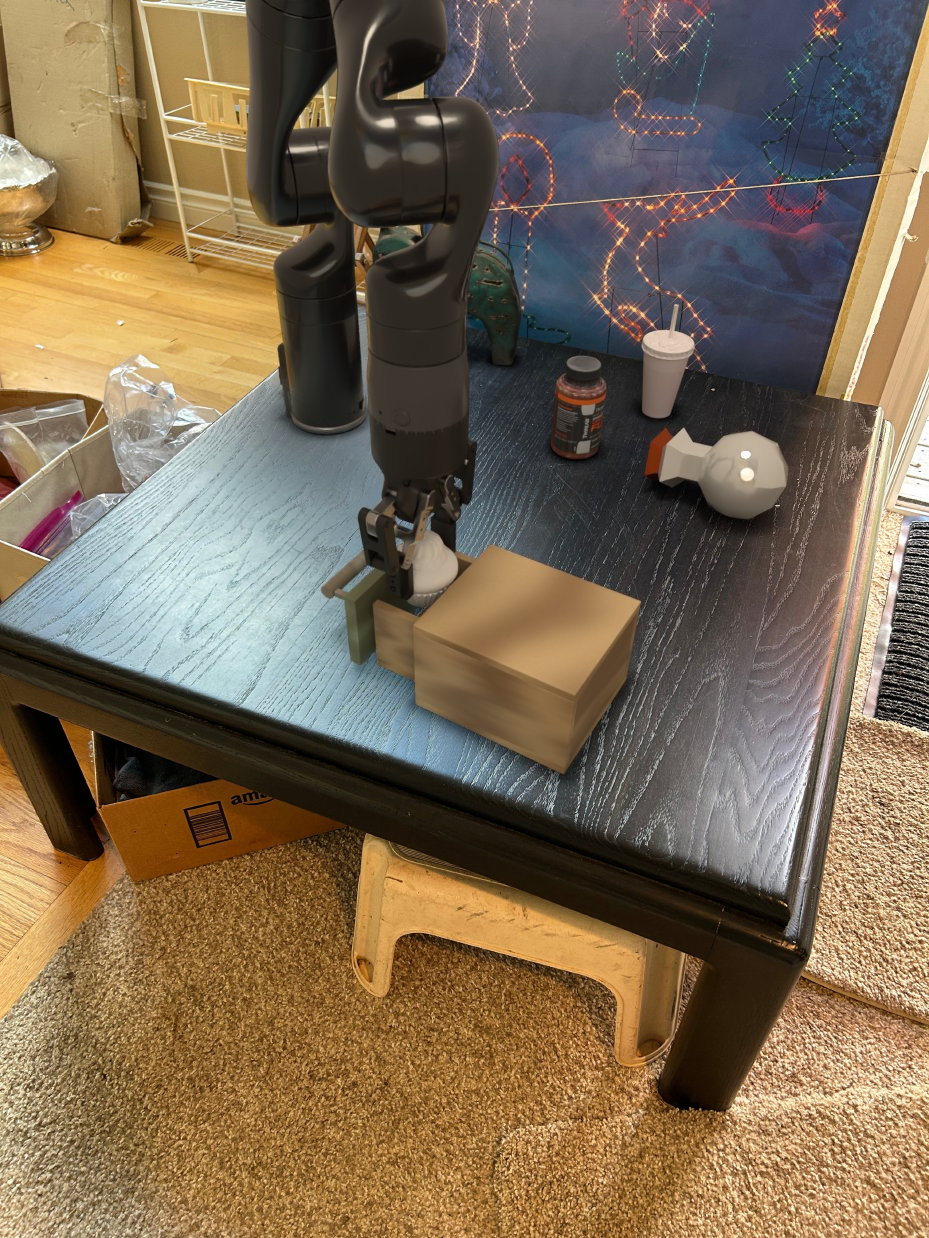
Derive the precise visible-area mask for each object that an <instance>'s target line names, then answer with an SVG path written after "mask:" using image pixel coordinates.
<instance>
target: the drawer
mask: <svg viewBox="0 0 929 1238" xmlns="http://www.w3.org/2000/svg"><path fill="white" fill-rule="evenodd" d="M401 544H403V543H402V542H401V543H400V544H399V545H398V546H400V545H401ZM454 554H455V556H456V558H457V561H458V573H457V575H456V577H455V579H454V580H453V581H454V582H455V581H456V580H457V579H458V578H459V577H460V575H461V574H462V573H463V572H464V571H465V570H466V569H467V568H468V567H469V566H470V565H471V564H472V563H473V562H474V561H475V560H476V559H477V558H476V557H473V556H470V555H468V554H465V553H463V552H460V551H458V550H456V552H455V553H454ZM367 567H369V566H368V565H366V560H365V555H364V550H363V549H362V550H361V551H360V552H359V553H358V554H357V555H356V556H355V557H353V558H352V559H351V560H350V561H348V563H347V564H346V565H344V566H343V567H342V568H341V569H340V570H339V571H338V572H336V573H335V574H334V575H333V576H332V577H331V578H330V579H328V580H327V581H326V582H325V583H324V584H323V585H322V586H320V592H321V594H322V596H324V597H325V598H326V599H329V600H332V599H333V598H334V597H335V598H337V599H339V600H342V601H343V602H344V603H343V604H344V614H345V622H346V632H347V641H348V653H349V661H350V662H352V663H354V664H356V665H358V666H362V665H363V664H364V663H365V662H366V661H367V660H368V659H369V658H370V657H371V656H372V655H373V654H374V653H376V664H377V665H378V666H380V667H382V668H385V669H386V670H388V671H391V672H393V673H395V674H397V675H399V676H401V677H404V678H406V679H408V680H410V681H412V682H414V683H415V670H414V642H413V624H414V623H415V622H416V621H417V620H418V619H419V618H420V617H421V616H422V615H423V614H424V613H425V612H426V611H427V610H428V609H429V608H430V607H431V606H429V607H425V608H424V609H422V611H421V612H420V613H419V614H418V615H415V614H413V613H414V612H415V611H416V610H417V608H418V607H415V606H414V605H411V604H409V603H408V602H407V601H406V600H403V599H401V598H399V597H396V596H394V595H392V594H390V593H388V591H387V589H386V572H383V571H381V570H378V569H376V568H374V567H373V568H372V570H371V571H370V572H369V573H367V575H365V576H364V577H363V578H362V579H361V580H360V581H359V582H358V583H357V584H355V586H354V587H352V588H351V589H349V591H345V590H343V589H344V588H345V587H347V586H348V585H349V584H350V583H351V582H352V581H353V580H354V579H355V578H356V577H357V576H358V575H360V574H361V573H362V572H363V571H364V570H365V569H366V568H367ZM454 582H453V583H454ZM453 583H452V584H453Z"/></svg>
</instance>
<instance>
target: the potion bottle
mask: <svg viewBox="0 0 929 1238" xmlns="http://www.w3.org/2000/svg"><path fill="white" fill-rule="evenodd" d="M789 469H790V467H789V465H788V463H787V461H786V459H785V456H784V454H783V452H782V450H781V447H780V445H779V443H778V442H777V441H774V440H772V439H769V438H768V437H765V436H764V435H762V434H759V433H758V432H755V431H753V430H750V431H748V430H747V431H736V432H732V433H729V434H726V435H723V436H722V437H721V438H720V439H719V440H718V441H717V442H716V443H715V444H714V445H713V446H711V445H707V444H703V443H699V442H693V440H692V439H691V437H690V435H689V433H688V432H687V430H686V428H685V427H683V428H681V429H680V431H678V432H677V433H676V434H675V435H674V436H673V435H671V433H670V432H669V430H668V428H667V427H665V428H664V429H663V430H662V431H660V433H658V434H657V436H655V437H654V438H653V439H652V440H651V441H650V444H649V449H648V454H647V460H646V466H645V471H644V477H646V478H648V479H650V480H653V481H655V482H657V481H659V483H661V484H663V485H665V486H667V487H670V488H674V487H676V486H678V485H679V484H681V483H683V482H685V481H688V482H691V483H695V484H698V486H699V488H700V491H701V493H702V496H703V498H704V500H705V503H706V505H707V507H708V508H710V509H712V510H714V511H716V512H718V513H720V514H721V515H725V516H726V517H729V518H731V519H739V520H750V519H752V518H755V517H757V516H759V515H761V514H763V513H765V512H766V511H768V510H771V509H773V507H774V506H775V504H776V503H777V502H778V501H779V499H780V498H781V497H782V496H783V494H784V492H785V490H786V487H787V484H788V477H789Z"/></svg>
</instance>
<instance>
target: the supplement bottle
mask: <svg viewBox="0 0 929 1238" xmlns="http://www.w3.org/2000/svg"><path fill="white" fill-rule="evenodd" d="M601 374H602V362H601V361H600V360H598V359H597V358H596V357H593V356H589V355H575V356H572V357H570V358H568V359H567V361H566V364H565V369H564V374H563V373H562V374H561V376H559V378H557V381H556V384H555V389H554V400H553V411H552V421H551V432H550V447H551V449H552V451H553V452H554V453H555V454H557V455H558V456H559V457H560V456H561V457H563V458H566V459H569V460H585V459H588V458H590V457H592V456H594V455H595V454H596V453H598V451H599V447H600V443H601V434H602V429H603V419H604V412H605V405H606V397H607V383H606V380H604V378H602V376H601Z"/></svg>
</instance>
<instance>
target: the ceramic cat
mask: <svg viewBox="0 0 929 1238" xmlns="http://www.w3.org/2000/svg"><path fill="white" fill-rule="evenodd" d="M419 231H420V233H419V232H418V231H416V230H414V229H413V228H410V227H408V226H400V227H398V226H397V227H392V228H391V227H388V228H379V232H378V238H377V240H376V242H375V245H374V246H373V249H372V253H371V260H372V264H373V263H374V262H375V261H376V260H378V259H379V258H381V257H383V256H386V255H388V254H390V253H393V252H396V251H398V250H401V249H404V248H407V247H409V246H412V245H414V244H416V243H418V242H419V241H421V240H422V239H423V238H424V237H425V236H426V235H425V233H424V228H423V225H419ZM479 244H480V245H483V246H485V247H483V246H480V245H478V248H477V252H476V256H475V260H474V265H473V269H472V273H471V278H470V283H469V289H468V303H467V316H471V317H474V318H476V319H478V320H479V321H480V322H481V323H482V325H483V326H484V329H485V331H486V333H487V336H488V340H489V342H490V348H491V349H490V351H491V362H492V363H493V365H497V366H512V364H513V363H514V359H515V357H516V351H517V344H518V339H519V334H520V329H521V321H522V308H521V298H520V297H521V296H520V291H519V287H518V284H517V281H516V276H515V268H514V266H513V263H512V260H511V258H510V256H509V255H508V253H507V252H506V251H505V250H504V249H503V248H502V247H501V246H499V245H497V244H495V243H493V242H490V241H487V240H484V239H483V240H482V239H480V241H479ZM487 247H490V248H492V249H494V250H497V252H499V253H500V254H501V255H502V256H503V257H504V258H505V259H506V260H507V261H508V264H509V265H508V264H507V262H506V261H505V259H503V258H502V257H501V256H499V255H498V254H497V253H496V252H494V251H493V250H491V249H489V248H487Z"/></svg>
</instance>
